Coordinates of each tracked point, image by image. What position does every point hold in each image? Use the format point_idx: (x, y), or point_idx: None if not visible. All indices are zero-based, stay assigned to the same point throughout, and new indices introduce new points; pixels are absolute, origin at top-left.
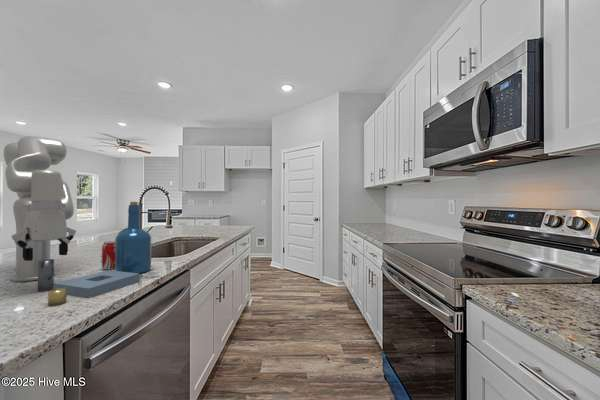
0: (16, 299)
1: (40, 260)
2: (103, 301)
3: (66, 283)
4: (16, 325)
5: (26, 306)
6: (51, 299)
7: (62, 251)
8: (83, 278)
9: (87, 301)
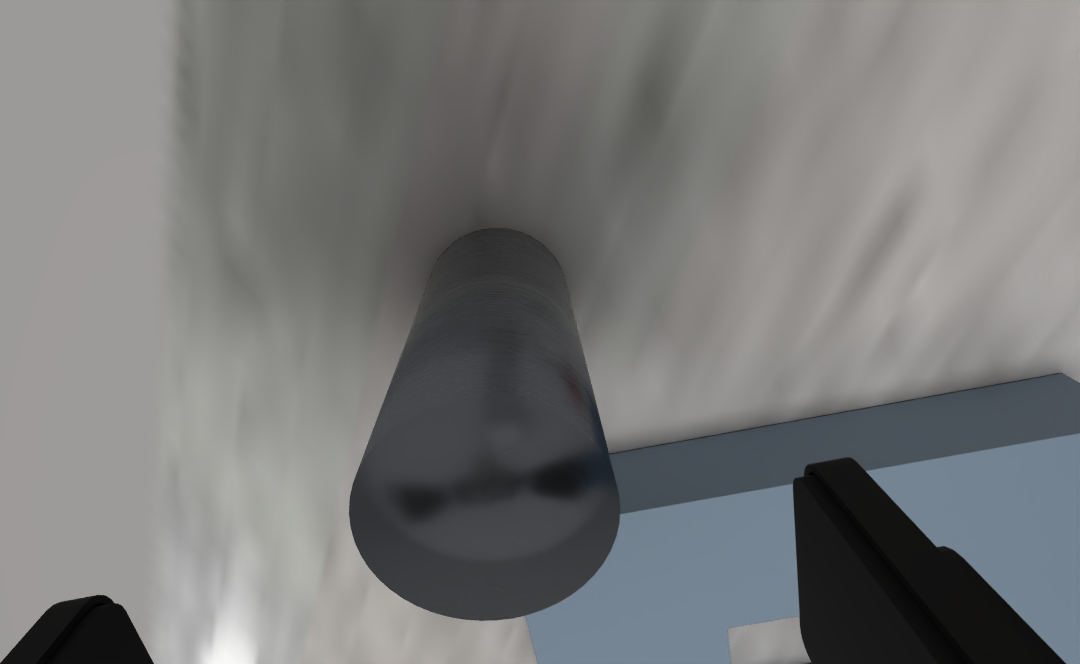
0: (238, 415)
1: (409, 448)
2: None
3: (569, 626)
4: None
5: (268, 657)
6: None
7: (840, 653)
8: (754, 573)
9: None
